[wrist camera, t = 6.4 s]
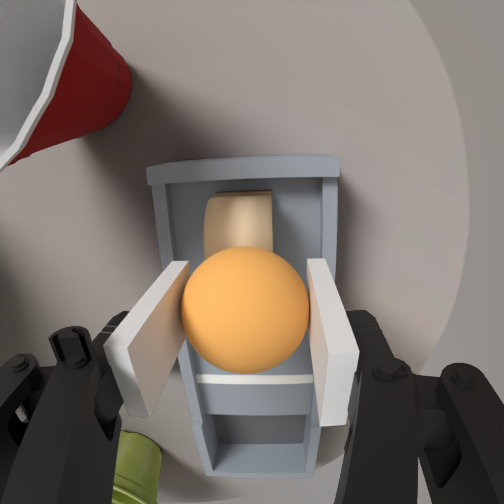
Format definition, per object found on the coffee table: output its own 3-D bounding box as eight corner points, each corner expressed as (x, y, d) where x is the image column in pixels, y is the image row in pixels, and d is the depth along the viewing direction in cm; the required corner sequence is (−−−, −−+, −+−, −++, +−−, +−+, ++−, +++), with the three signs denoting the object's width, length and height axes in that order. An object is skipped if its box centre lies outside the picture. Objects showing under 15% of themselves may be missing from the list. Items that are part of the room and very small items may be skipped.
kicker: (222, 265, 19) (209, 299, 15) (217, 191, 18) (200, 206, 14) (273, 264, 19) (273, 299, 15) (271, 189, 18) (271, 203, 13)
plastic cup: (200, 43, 17) (123, -49, 6) (127, 188, 20) (2, 239, 9) (81, 7, 16) (-25, -44, 5) (25, 132, 19) (-96, 148, 8)
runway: (211, 445, 28) (206, 475, 25) (168, 162, 20) (145, 167, 16) (310, 446, 28) (312, 477, 24) (326, 154, 19) (339, 157, 15)
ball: (194, 333, 16) (184, 403, 11) (182, 235, 14) (161, 279, 9) (294, 326, 16) (319, 392, 11) (295, 229, 14) (329, 268, 10)
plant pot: (90, 438, 30) (64, 490, 22) (114, 406, 28) (82, 469, 19) (156, 475, 32) (139, 528, 24) (191, 450, 29) (175, 516, 21)
